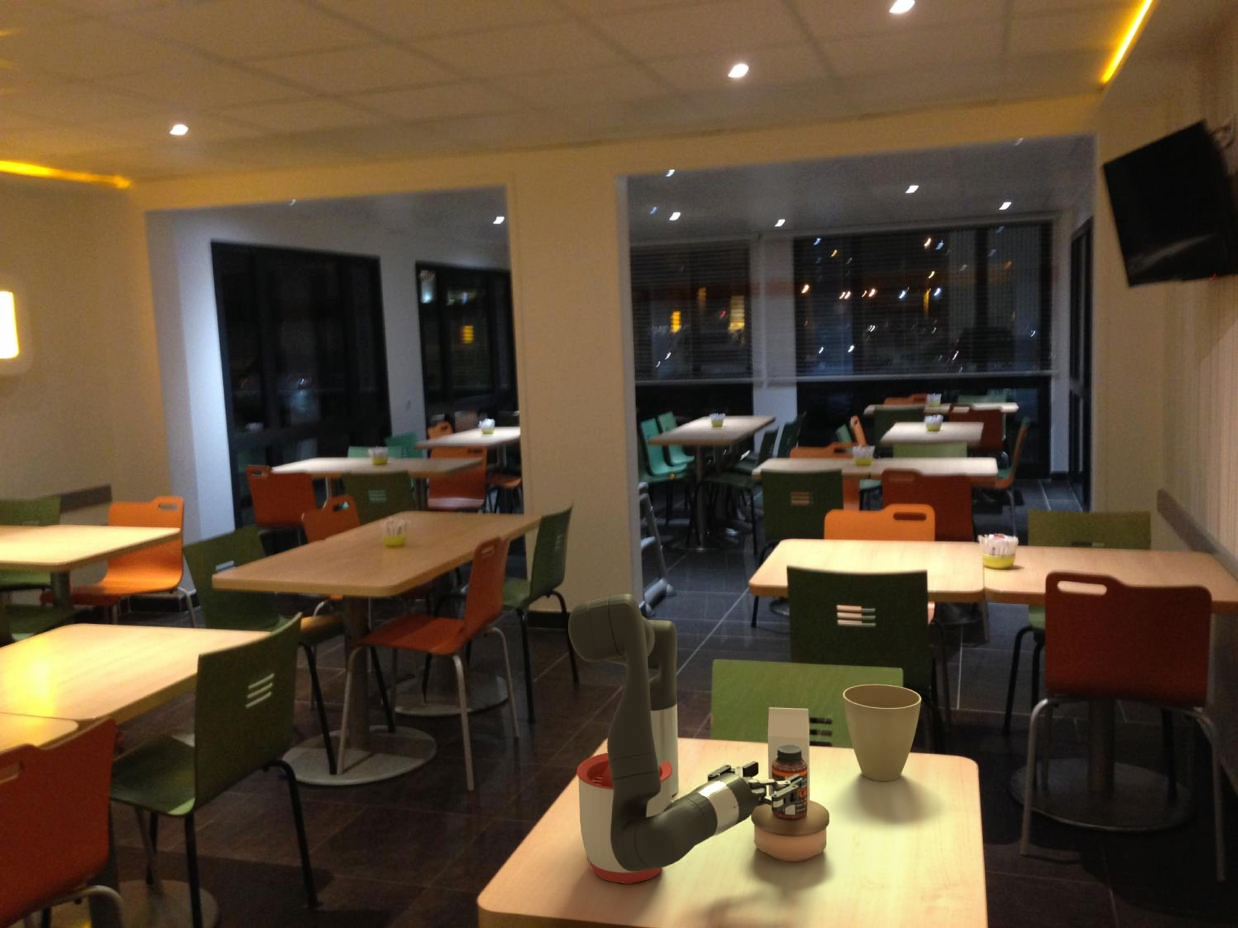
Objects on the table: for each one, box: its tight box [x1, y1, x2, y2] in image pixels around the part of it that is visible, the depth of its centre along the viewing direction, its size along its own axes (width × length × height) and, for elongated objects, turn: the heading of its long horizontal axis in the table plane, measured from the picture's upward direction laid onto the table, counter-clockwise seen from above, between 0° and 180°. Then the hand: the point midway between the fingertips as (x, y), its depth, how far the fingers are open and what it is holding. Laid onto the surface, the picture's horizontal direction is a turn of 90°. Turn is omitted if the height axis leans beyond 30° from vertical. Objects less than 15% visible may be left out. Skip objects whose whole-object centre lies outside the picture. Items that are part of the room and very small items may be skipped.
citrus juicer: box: [576, 752, 673, 885], centre depth 176 cm, size 16×17×20 cm
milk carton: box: [767, 707, 811, 800], centre depth 196 cm, size 7×7×19 cm
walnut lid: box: [750, 799, 830, 836], centre depth 180 cm, size 13×13×1 cm
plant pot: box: [842, 683, 922, 782], centre depth 211 cm, size 15×15×16 cm
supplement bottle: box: [772, 745, 807, 820], centre depth 179 cm, size 6×6×11 cm
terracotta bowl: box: [753, 824, 828, 862], centre depth 181 cm, size 12×12×6 cm
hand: (778, 773), depth 177 cm, fingers open, 8 cm apart
